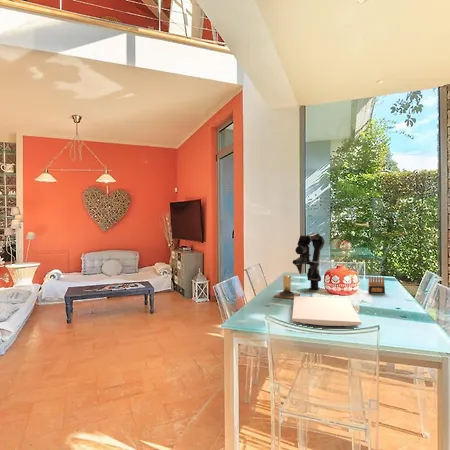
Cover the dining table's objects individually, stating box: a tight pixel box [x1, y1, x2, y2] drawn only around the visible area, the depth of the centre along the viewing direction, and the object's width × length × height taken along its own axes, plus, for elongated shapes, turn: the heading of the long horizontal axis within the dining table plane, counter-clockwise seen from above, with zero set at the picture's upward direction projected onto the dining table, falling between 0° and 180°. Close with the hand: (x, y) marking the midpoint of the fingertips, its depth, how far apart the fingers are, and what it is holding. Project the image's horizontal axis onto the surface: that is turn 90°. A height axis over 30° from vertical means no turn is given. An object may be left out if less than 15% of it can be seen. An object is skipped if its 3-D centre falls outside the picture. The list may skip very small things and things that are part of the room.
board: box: [291, 295, 362, 327], centre depth 180 cm, size 45×32×5 cm
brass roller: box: [282, 275, 292, 294], centre depth 224 cm, size 5×5×13 cm
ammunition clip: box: [367, 275, 386, 294], centre depth 227 cm, size 11×2×12 cm, turn 82°
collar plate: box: [273, 290, 301, 301], centre depth 224 cm, size 14×14×2 cm
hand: (305, 274), depth 231 cm, fingers open, 9 cm apart
